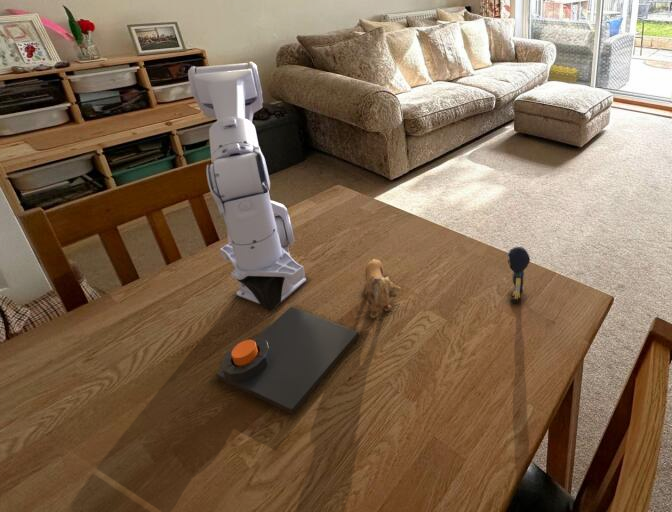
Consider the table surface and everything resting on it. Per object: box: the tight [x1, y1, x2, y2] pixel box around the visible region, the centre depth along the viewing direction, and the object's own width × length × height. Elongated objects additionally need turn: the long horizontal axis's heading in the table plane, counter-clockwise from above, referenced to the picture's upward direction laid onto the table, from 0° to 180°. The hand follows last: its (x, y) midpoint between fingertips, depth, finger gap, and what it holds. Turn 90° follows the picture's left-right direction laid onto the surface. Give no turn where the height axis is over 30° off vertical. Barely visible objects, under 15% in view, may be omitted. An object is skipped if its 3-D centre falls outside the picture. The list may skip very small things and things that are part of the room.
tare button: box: [231, 339, 258, 366], centre depth 62 cm, size 3×3×2 cm
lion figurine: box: [364, 258, 402, 319], centre depth 75 cm, size 15×5×9 cm, turn 33°
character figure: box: [507, 246, 531, 304], centre depth 76 cm, size 9×4×12 cm, turn 178°
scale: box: [215, 306, 360, 415], centre depth 65 cm, size 15×14×3 cm
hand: (272, 304), depth 63 cm, fingers closed
